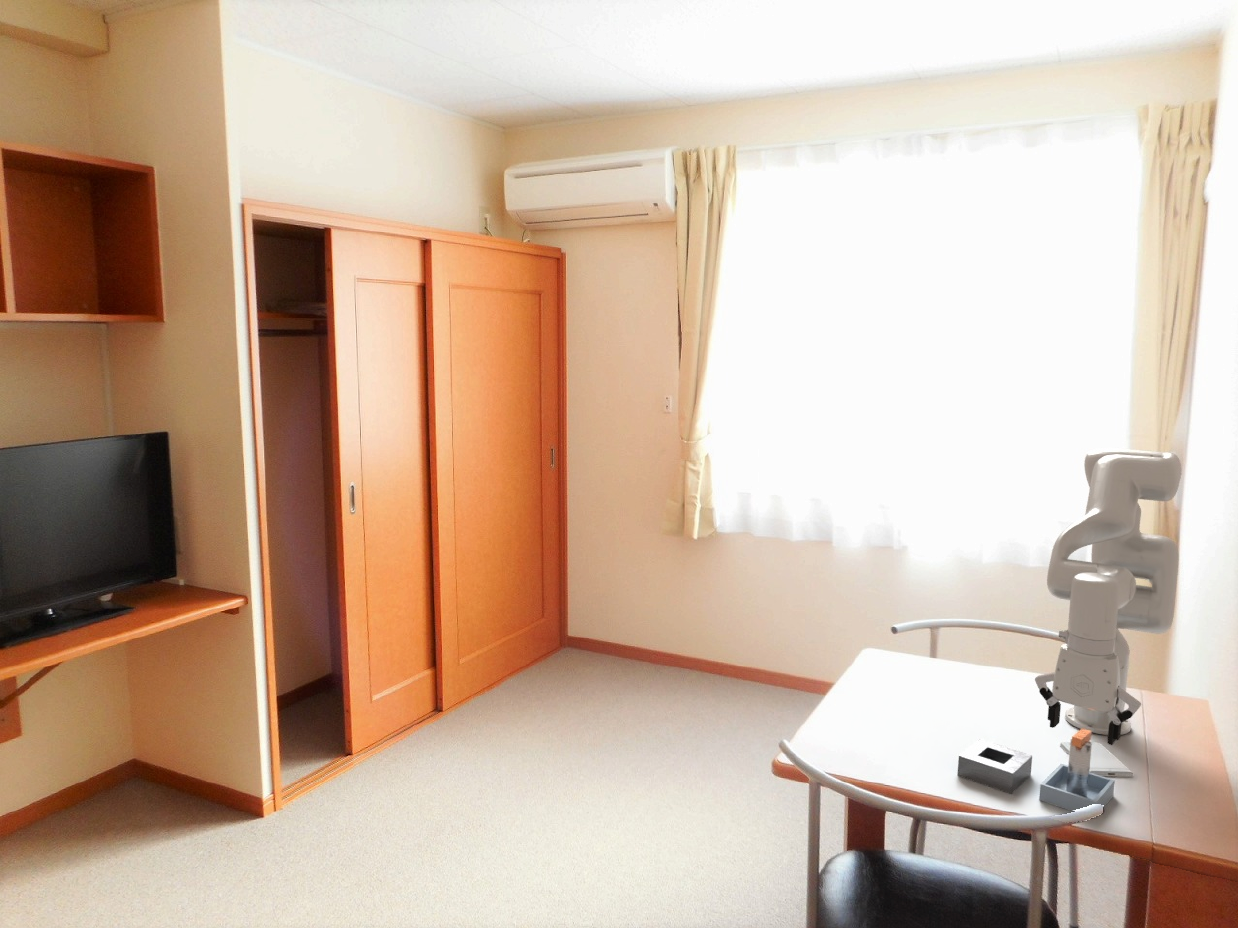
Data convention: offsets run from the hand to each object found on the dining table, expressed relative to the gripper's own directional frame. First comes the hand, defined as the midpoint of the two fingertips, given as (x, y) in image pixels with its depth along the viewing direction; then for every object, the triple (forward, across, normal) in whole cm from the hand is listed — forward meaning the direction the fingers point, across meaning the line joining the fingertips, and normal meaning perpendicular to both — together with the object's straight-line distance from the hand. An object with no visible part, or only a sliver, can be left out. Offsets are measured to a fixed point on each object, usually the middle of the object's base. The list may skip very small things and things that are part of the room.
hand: (1082, 733), depth 163 cm
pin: (+11, 0, -1) cm, 11 cm away
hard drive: (+14, -2, +17) cm, 22 cm away
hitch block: (+12, -14, -4) cm, 18 cm away
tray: (+12, 0, -2) cm, 12 cm away
